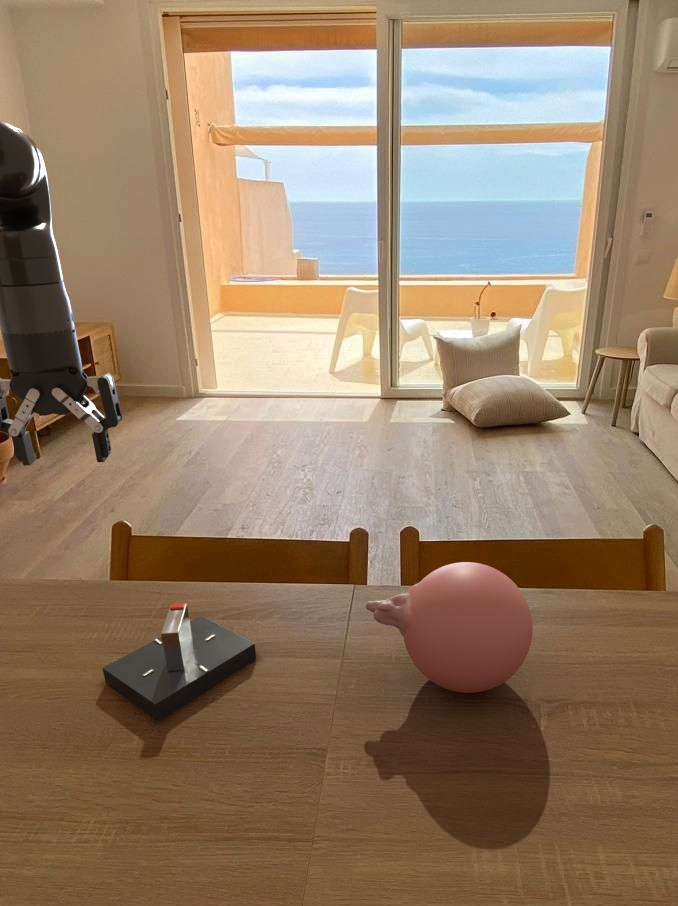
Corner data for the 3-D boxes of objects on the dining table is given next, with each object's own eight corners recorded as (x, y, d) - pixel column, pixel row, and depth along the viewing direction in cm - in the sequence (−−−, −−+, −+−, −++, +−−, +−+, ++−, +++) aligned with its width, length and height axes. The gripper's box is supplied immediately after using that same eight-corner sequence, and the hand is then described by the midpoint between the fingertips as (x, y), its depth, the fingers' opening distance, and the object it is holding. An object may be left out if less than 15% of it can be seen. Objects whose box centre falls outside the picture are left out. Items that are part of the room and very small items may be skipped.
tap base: (158, 721, 80) (154, 703, 79) (105, 684, 86) (101, 666, 85) (256, 659, 90) (254, 642, 89) (203, 630, 97) (201, 614, 96)
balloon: (382, 632, 96) (381, 532, 89) (530, 650, 91) (539, 546, 85) (352, 704, 82) (347, 592, 76) (524, 730, 78) (534, 613, 71)
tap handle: (184, 670, 84) (177, 630, 82) (167, 671, 84) (160, 631, 82) (192, 639, 90) (186, 601, 88) (176, 640, 90) (170, 602, 88)
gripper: (-45, 332, 73) (-8, 476, 80) (94, 329, 75) (119, 470, 81) (-16, 321, 80) (16, 454, 87) (111, 318, 81) (133, 449, 88)
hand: (66, 461), depth 84 cm, fingers open, 8 cm apart
